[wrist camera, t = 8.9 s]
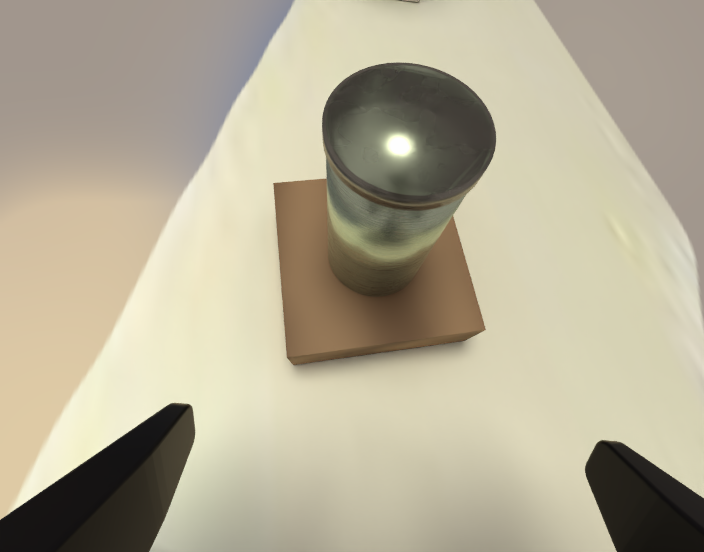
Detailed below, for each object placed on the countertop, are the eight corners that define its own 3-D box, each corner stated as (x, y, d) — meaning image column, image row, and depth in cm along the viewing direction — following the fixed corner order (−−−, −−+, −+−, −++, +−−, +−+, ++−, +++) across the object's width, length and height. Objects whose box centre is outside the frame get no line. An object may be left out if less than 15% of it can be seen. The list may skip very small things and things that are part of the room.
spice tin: (362, 317, 17) (392, 231, 9) (307, 239, 19) (288, 101, 10) (440, 265, 19) (532, 147, 10) (384, 196, 20) (422, 42, 12)
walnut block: (293, 364, 19) (286, 357, 16) (280, 211, 23) (273, 183, 20) (464, 340, 20) (485, 329, 17) (426, 197, 24) (439, 169, 21)
